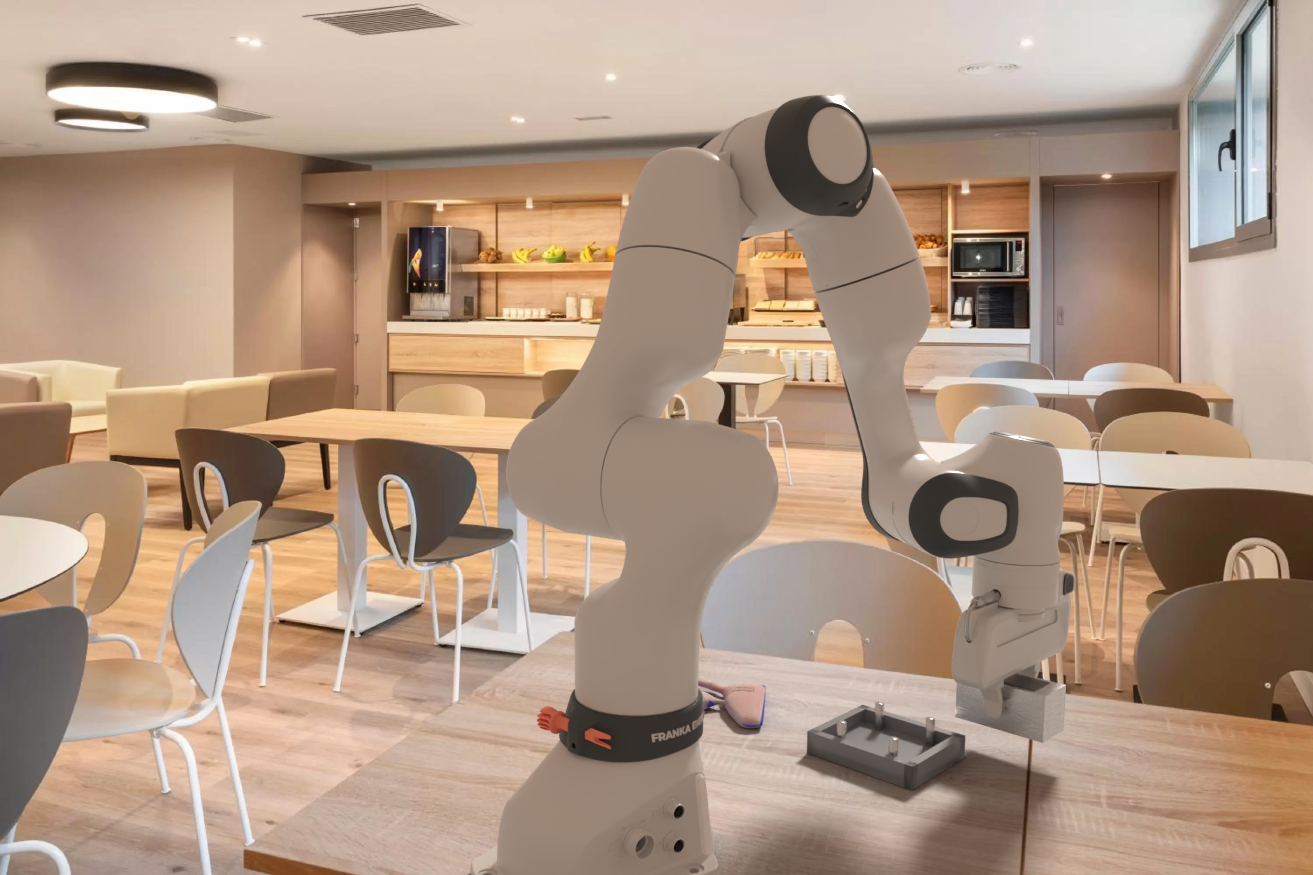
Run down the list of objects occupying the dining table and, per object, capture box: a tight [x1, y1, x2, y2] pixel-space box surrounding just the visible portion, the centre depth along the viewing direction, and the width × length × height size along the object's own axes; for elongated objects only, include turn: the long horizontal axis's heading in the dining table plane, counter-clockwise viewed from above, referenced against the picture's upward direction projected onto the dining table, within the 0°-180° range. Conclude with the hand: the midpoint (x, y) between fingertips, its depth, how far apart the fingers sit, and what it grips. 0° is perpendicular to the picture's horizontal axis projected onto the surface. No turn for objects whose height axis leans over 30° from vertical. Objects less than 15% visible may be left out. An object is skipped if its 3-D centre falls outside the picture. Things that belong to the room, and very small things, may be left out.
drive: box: [954, 673, 1067, 744], centre depth 115 cm, size 5×10×5 cm, turn 45°
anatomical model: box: [698, 677, 767, 729], centre depth 131 cm, size 20×3×15 cm
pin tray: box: [806, 701, 966, 791], centre depth 115 cm, size 11×13×4 cm
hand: (1008, 708), depth 115 cm, fingers closed on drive, 5 cm apart
